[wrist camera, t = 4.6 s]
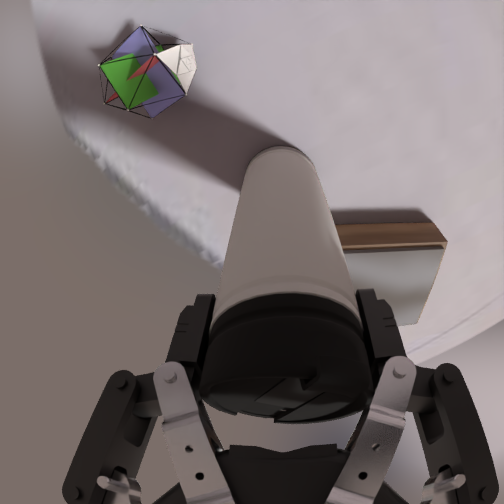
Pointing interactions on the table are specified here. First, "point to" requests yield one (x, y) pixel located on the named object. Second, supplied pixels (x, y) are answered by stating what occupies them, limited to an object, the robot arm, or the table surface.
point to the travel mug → (285, 304)
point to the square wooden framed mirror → (394, 263)
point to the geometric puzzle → (149, 73)
